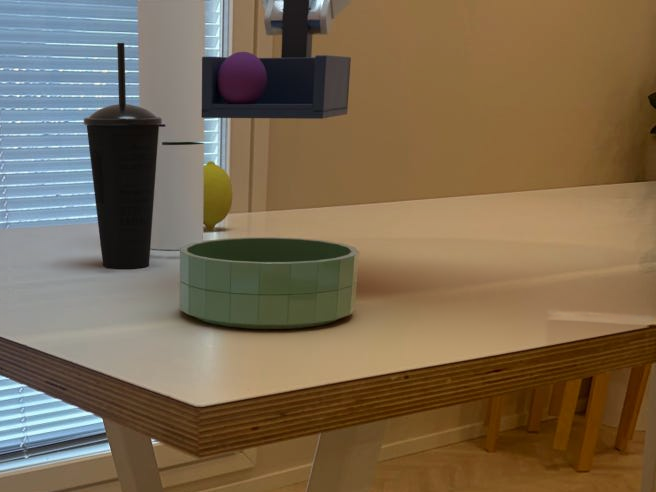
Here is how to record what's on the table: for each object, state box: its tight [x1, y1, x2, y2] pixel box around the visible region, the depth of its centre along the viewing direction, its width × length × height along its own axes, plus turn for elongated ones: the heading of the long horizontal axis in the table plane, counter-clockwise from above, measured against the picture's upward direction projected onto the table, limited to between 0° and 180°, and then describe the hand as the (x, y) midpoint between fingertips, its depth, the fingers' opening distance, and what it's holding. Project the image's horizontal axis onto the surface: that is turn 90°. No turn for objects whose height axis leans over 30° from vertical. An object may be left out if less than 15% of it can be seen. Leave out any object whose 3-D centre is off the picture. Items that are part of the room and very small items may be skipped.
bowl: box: [179, 236, 360, 330], centre depth 83 cm, size 14×14×5 cm
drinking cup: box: [83, 42, 162, 270], centre depth 102 cm, size 8×8×20 cm
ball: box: [217, 51, 267, 104], centre depth 74 cm, size 4×4×4 cm
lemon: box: [203, 160, 233, 231], centre depth 130 cm, size 6×6×8 cm
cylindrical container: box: [137, 0, 206, 251], centre depth 113 cm, size 7×7×25 cm
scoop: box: [202, 0, 352, 120], centre depth 76 cm, size 9×12×10 cm
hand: (296, 28), depth 79 cm, fingers closed on scoop
